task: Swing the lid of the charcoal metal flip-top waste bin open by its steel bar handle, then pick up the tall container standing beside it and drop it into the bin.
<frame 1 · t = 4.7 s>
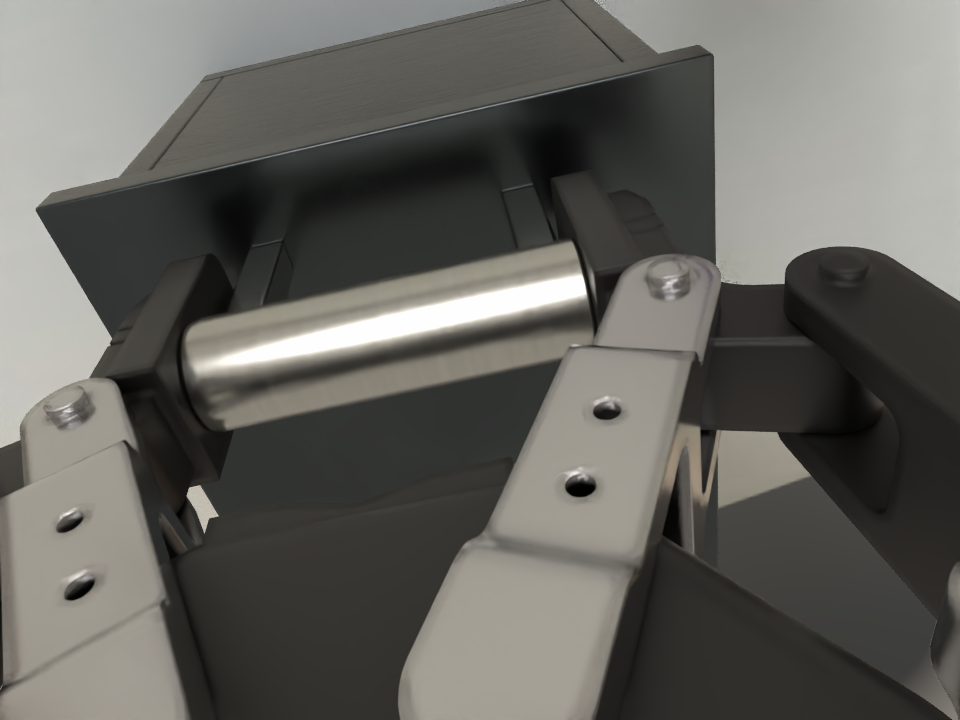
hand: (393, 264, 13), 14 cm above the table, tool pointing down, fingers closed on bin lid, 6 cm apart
bin: (443, 243, 28), on the table
bin lid: (467, 517, 16), point 15 cm above the table, hinge at 0.0°, touching gripper
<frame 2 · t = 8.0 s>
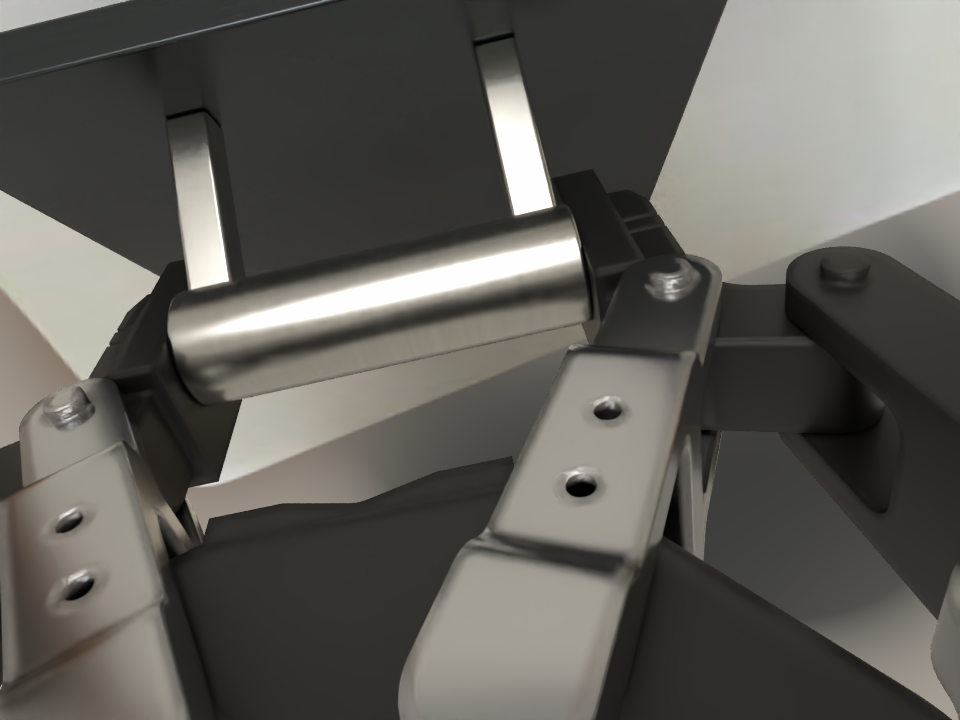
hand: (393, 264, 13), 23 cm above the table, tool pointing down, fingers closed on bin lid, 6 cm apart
bin lid: (425, 296, 18), point 20 cm above the table, hinge at 45.8°, touching gripper
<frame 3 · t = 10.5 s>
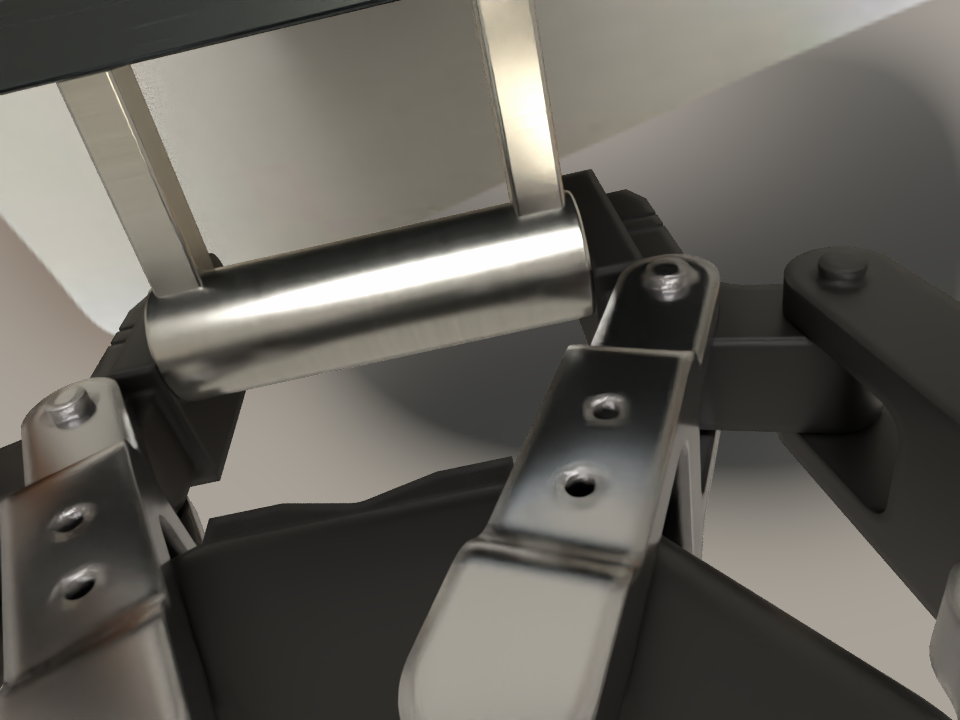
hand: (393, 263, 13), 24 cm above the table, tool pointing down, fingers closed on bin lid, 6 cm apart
bin lid: (371, 98, 15), point 21 cm above the table, hinge at 83.9°, touching gripper
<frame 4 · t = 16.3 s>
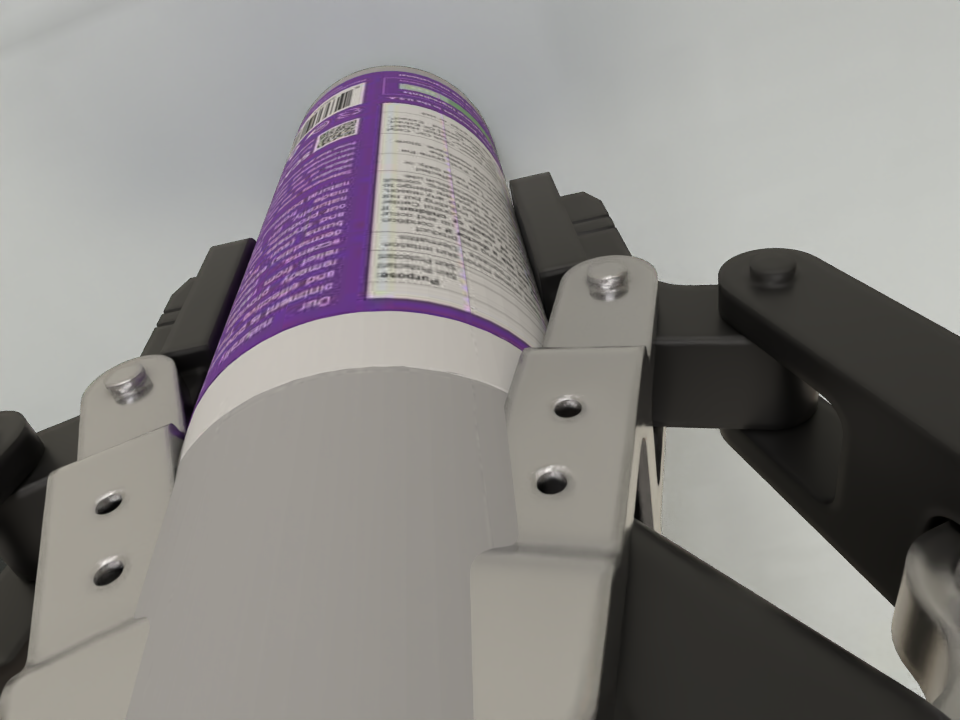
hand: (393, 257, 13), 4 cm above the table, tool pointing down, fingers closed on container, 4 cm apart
container: (396, 167, 17), on the table, touching gripper
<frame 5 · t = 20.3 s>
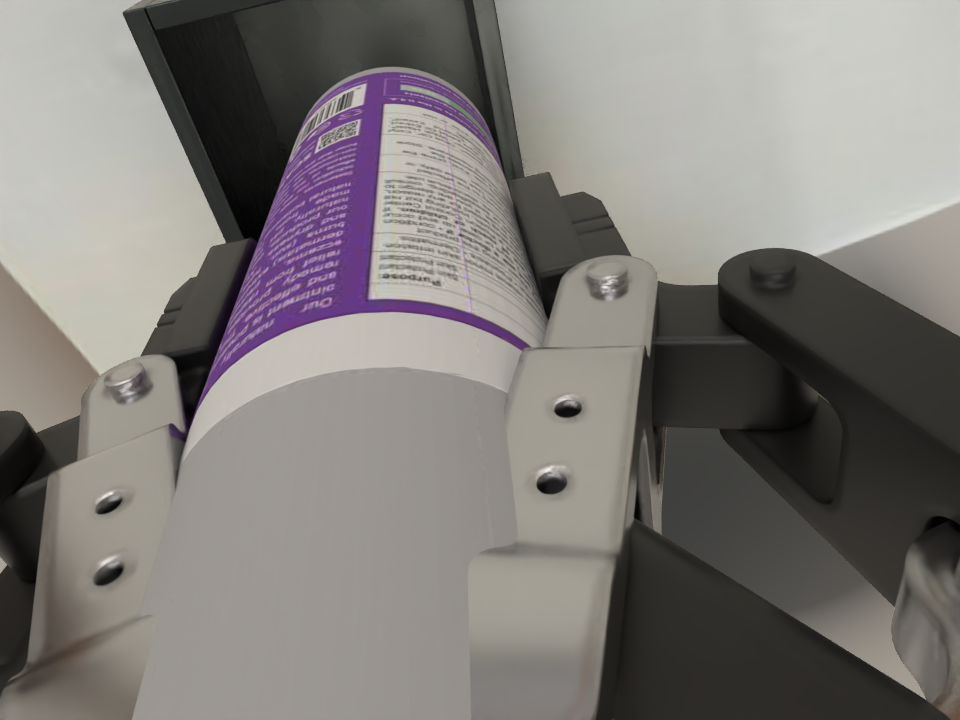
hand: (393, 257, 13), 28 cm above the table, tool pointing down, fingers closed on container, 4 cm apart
container: (397, 167, 17), point 23 cm above the table, touching gripper
bin: (376, 97, 39), on the table
when the fingers open (15 cm above the table, at t = 24.2 s): container drops 10 cm, resting on bin.
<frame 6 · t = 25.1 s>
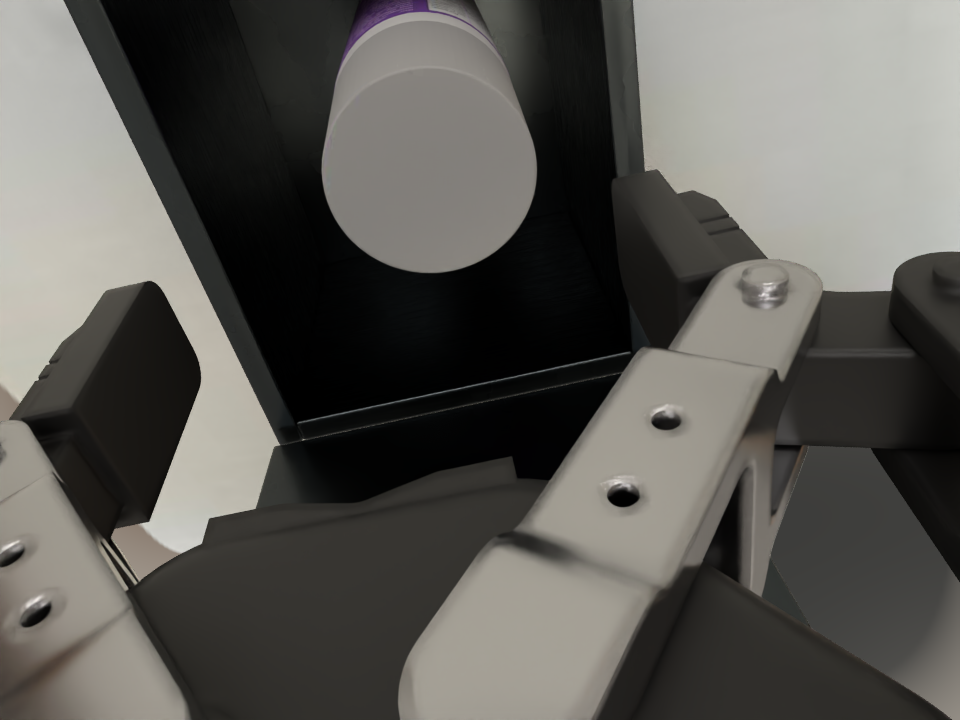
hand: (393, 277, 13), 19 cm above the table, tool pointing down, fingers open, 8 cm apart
container: (418, 29, 27), point 1 cm above the table, touching bin
bin: (404, 70, 29), on the table
bin lid: (506, 686, 17), point 21 cm above the table, hinge at 84.4°
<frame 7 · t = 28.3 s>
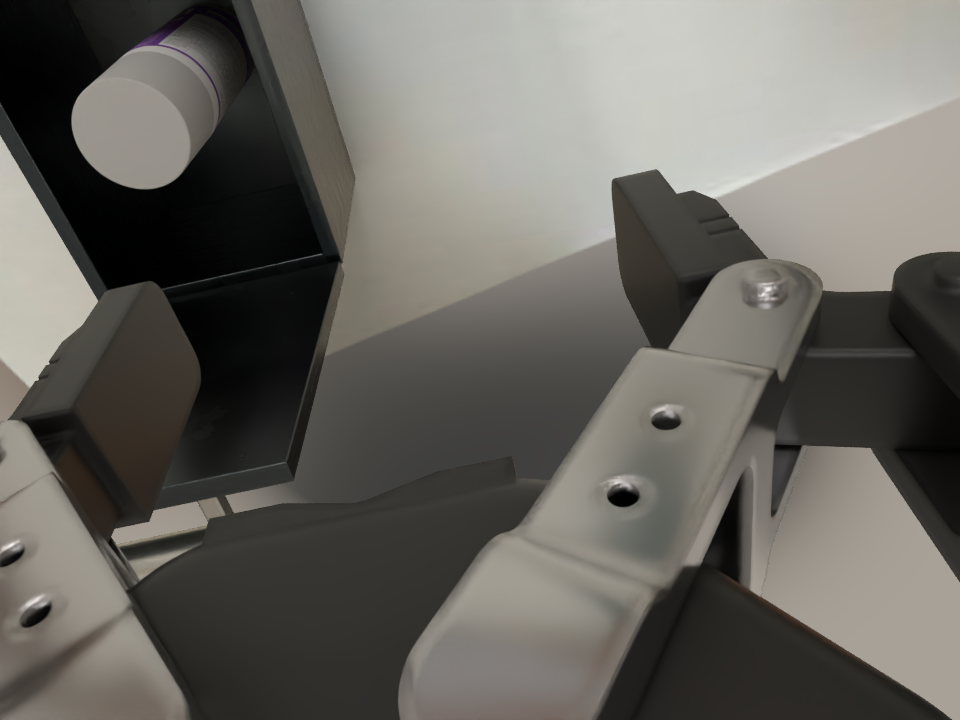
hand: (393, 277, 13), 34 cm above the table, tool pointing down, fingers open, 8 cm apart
container: (213, 48, 41), point 1 cm above the table, touching bin
bin: (211, 76, 43), on the table
bin lid: (196, 422, 31), point 21 cm above the table, hinge at 84.4°
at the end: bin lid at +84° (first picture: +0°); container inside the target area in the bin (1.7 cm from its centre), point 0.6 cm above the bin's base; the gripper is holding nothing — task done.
